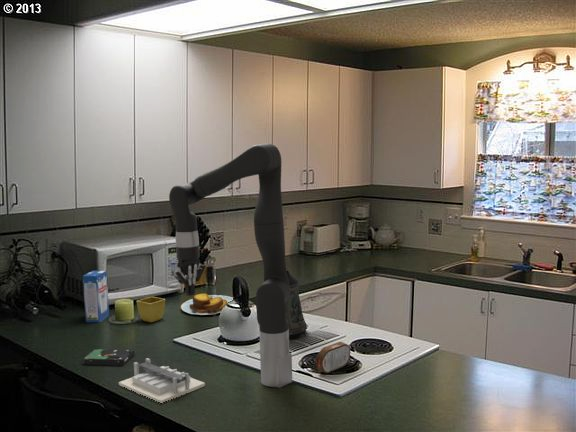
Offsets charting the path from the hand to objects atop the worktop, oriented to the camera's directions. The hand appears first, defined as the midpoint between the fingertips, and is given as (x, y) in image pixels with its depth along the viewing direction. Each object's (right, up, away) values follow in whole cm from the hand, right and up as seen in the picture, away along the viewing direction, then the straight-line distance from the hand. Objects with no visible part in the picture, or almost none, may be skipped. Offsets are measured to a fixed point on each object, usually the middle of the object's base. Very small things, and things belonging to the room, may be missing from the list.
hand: (190, 295), depth 216 cm
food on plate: (-3, -16, +74) cm, 76 cm away
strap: (-7, -23, -11) cm, 27 cm away
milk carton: (-49, -18, +63) cm, 82 cm away
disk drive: (-31, -25, +13) cm, 42 cm away
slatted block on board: (-8, -27, -11) cm, 30 cm away
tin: (+48, -25, -1) cm, 54 cm away
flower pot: (-25, -18, +59) cm, 66 cm away
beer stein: (+32, -20, +35) cm, 52 cm away
